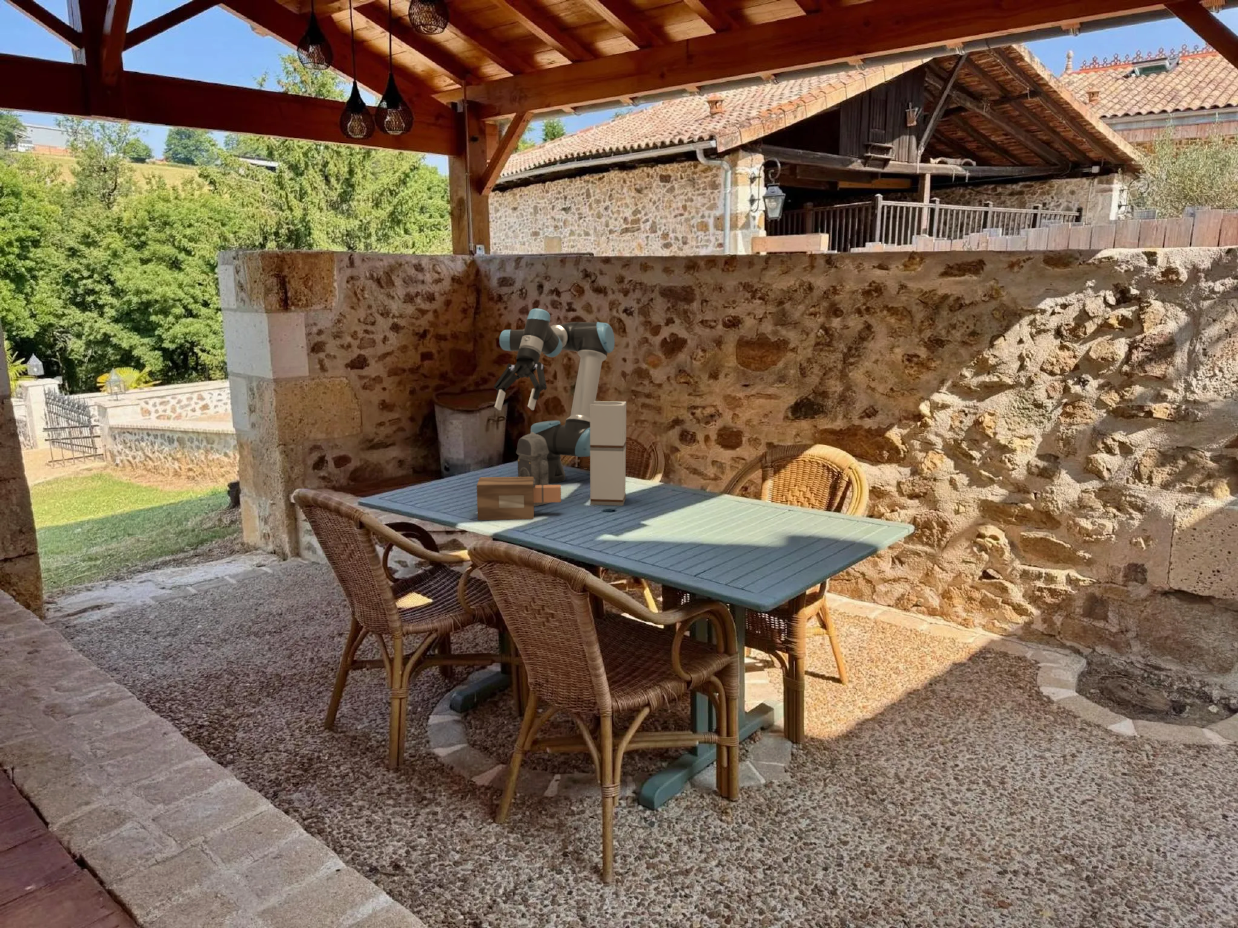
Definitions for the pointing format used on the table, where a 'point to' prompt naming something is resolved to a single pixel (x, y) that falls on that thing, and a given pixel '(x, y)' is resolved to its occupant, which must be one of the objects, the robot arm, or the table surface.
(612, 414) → the beige square tower
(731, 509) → the table surface
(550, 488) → the orange banded bar
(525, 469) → the grey backpack
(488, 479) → the box
